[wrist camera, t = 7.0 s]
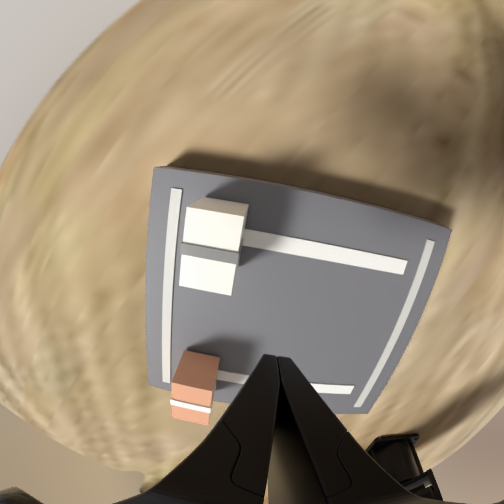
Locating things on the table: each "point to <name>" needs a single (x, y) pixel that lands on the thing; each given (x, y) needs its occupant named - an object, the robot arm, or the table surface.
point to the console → (291, 286)
